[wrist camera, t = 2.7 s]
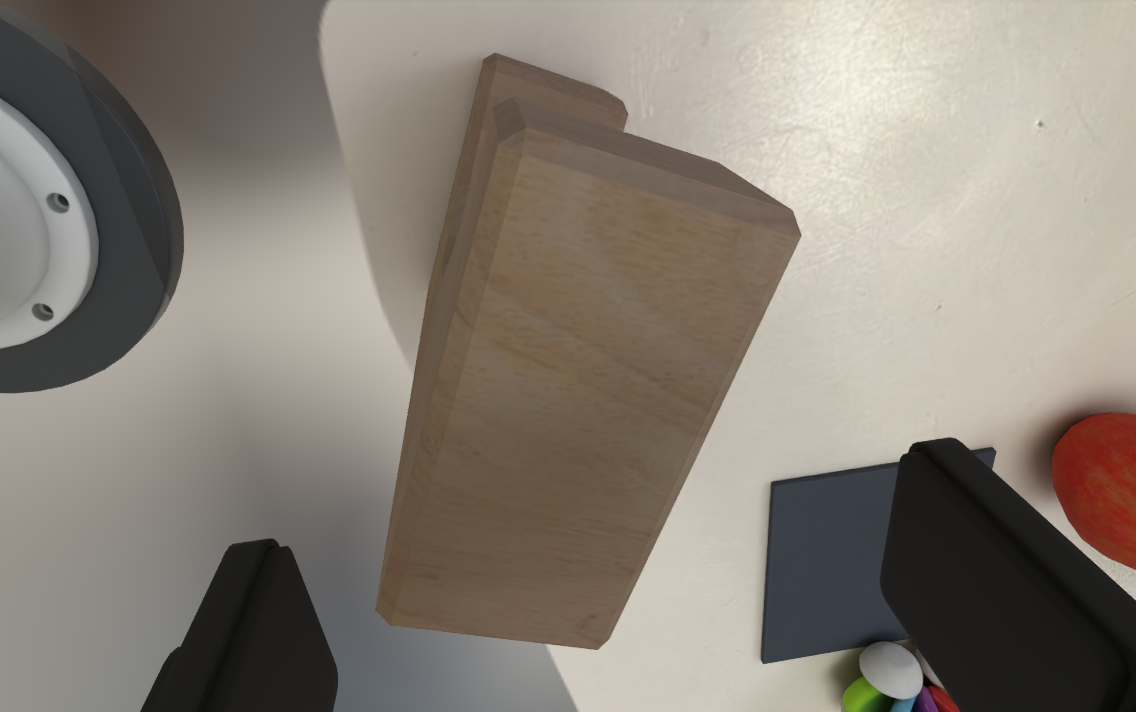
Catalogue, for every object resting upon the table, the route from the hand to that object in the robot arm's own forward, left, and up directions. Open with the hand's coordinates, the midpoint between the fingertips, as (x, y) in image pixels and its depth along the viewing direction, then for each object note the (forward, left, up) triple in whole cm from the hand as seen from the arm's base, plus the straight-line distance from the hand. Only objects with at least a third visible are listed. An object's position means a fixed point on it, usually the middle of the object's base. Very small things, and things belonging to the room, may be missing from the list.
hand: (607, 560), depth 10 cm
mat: (+20, -27, -23) cm, 41 cm away
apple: (+33, -20, -23) cm, 45 cm away
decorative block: (0, 0, -23) cm, 23 cm away
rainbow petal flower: (+23, -38, -23) cm, 50 cm away
